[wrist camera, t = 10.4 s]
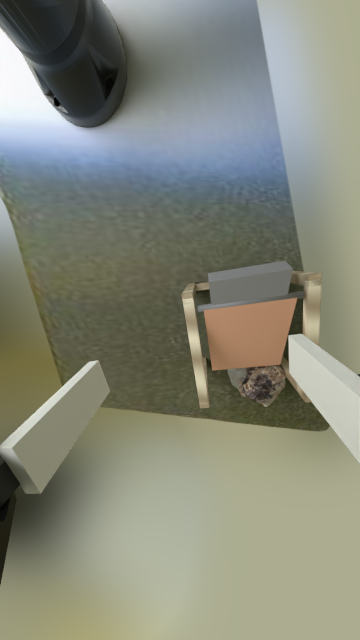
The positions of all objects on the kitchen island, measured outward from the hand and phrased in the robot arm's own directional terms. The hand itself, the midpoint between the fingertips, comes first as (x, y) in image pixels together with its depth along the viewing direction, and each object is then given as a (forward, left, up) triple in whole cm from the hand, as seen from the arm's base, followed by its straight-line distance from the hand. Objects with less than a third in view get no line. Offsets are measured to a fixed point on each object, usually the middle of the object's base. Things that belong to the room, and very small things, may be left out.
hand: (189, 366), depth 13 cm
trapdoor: (+4, +7, -19) cm, 21 cm away
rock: (+14, +11, -22) cm, 28 cm away
